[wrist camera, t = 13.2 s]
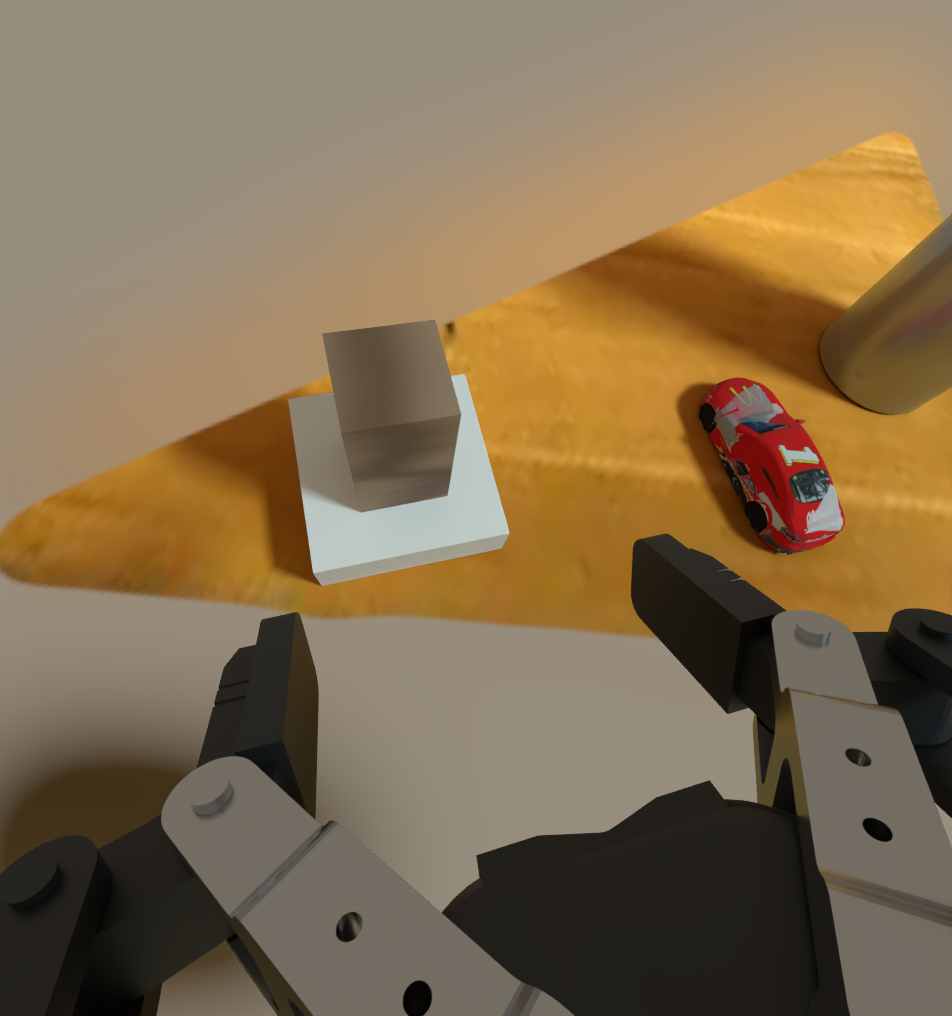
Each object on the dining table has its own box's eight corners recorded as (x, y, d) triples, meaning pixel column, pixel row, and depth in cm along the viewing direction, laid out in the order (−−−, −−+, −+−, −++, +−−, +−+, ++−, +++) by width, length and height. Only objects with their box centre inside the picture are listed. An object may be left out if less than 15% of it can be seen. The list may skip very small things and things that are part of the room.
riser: (460, 400, 36) (464, 374, 33) (501, 548, 33) (509, 533, 30) (298, 424, 34) (287, 398, 31) (322, 585, 31) (313, 573, 28)
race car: (684, 397, 39) (712, 363, 35) (746, 386, 40) (780, 353, 36) (760, 563, 35) (802, 545, 31) (828, 546, 36) (876, 526, 32)
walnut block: (428, 422, 32) (435, 319, 24) (447, 496, 30) (461, 414, 22) (346, 435, 31) (322, 333, 23) (361, 512, 29) (341, 433, 21)
